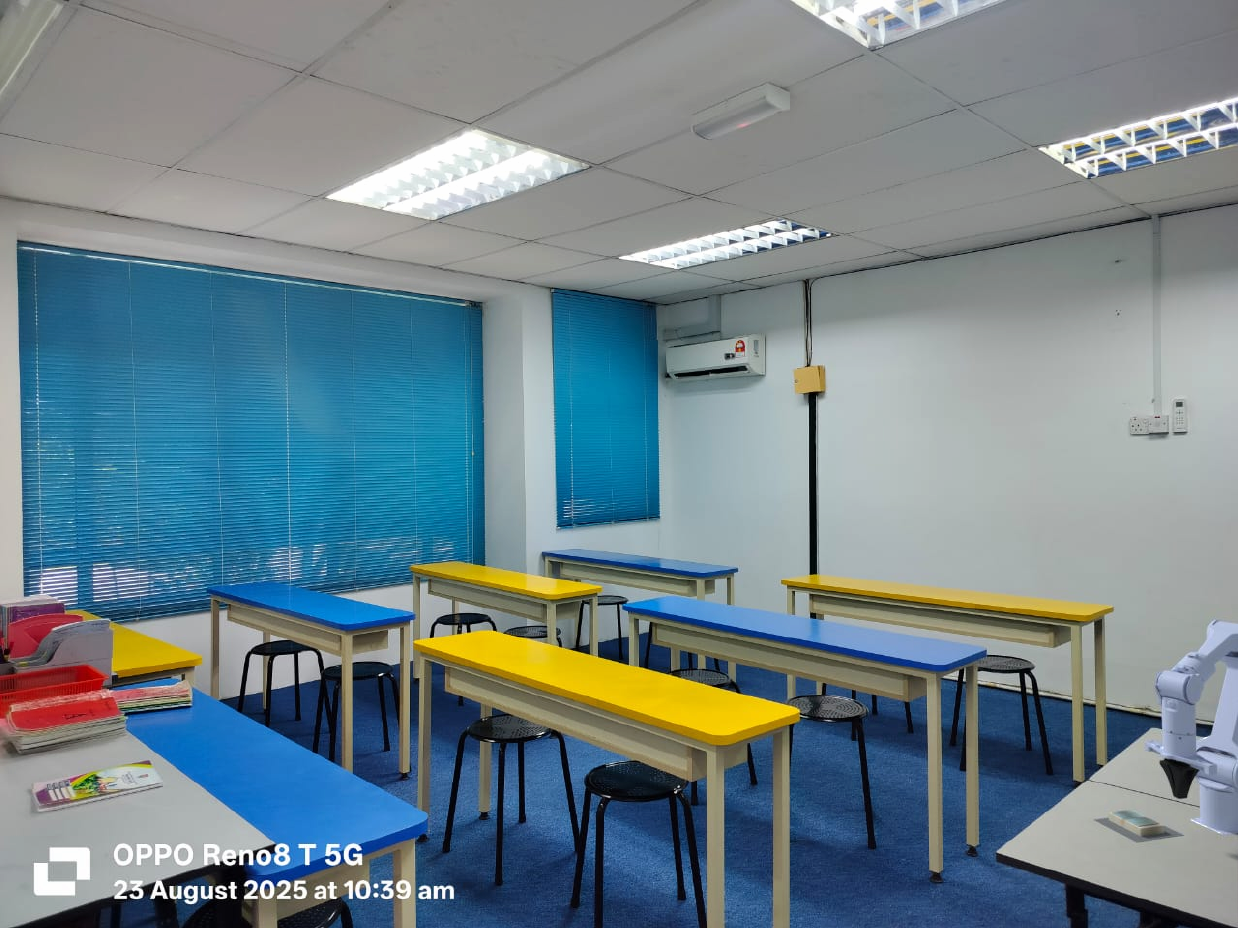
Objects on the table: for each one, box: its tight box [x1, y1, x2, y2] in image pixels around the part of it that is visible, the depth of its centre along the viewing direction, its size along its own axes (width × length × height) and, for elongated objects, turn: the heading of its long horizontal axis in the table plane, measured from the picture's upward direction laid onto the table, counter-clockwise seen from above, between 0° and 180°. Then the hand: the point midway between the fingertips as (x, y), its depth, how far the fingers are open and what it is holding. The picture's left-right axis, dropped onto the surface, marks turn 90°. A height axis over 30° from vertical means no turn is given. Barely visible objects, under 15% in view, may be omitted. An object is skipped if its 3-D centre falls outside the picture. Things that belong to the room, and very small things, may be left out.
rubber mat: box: [1093, 816, 1185, 843], centre depth 170 cm, size 12×11×1 cm
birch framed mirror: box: [1108, 809, 1165, 836], centre depth 171 cm, size 6×2×8 cm
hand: (1180, 797), depth 164 cm, fingers closed
